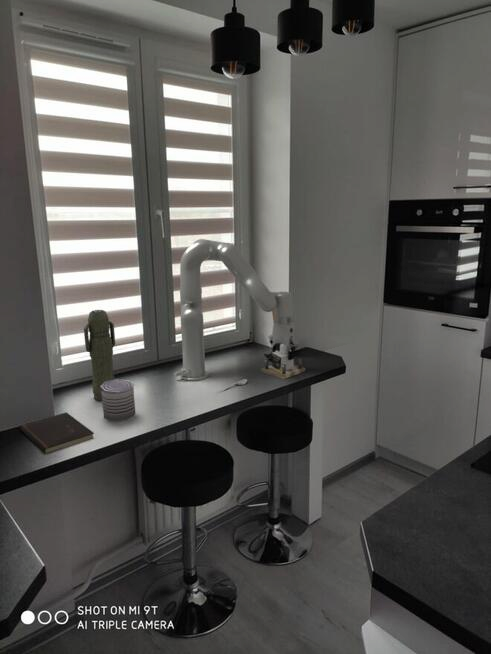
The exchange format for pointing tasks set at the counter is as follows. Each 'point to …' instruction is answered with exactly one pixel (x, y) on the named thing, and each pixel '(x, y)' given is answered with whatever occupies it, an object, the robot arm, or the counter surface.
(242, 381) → the spoon
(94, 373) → the dark green tall piece
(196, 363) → the robot arm
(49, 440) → the hardcover book
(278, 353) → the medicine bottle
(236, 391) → the counter surface
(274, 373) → the peg stand
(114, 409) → the can
